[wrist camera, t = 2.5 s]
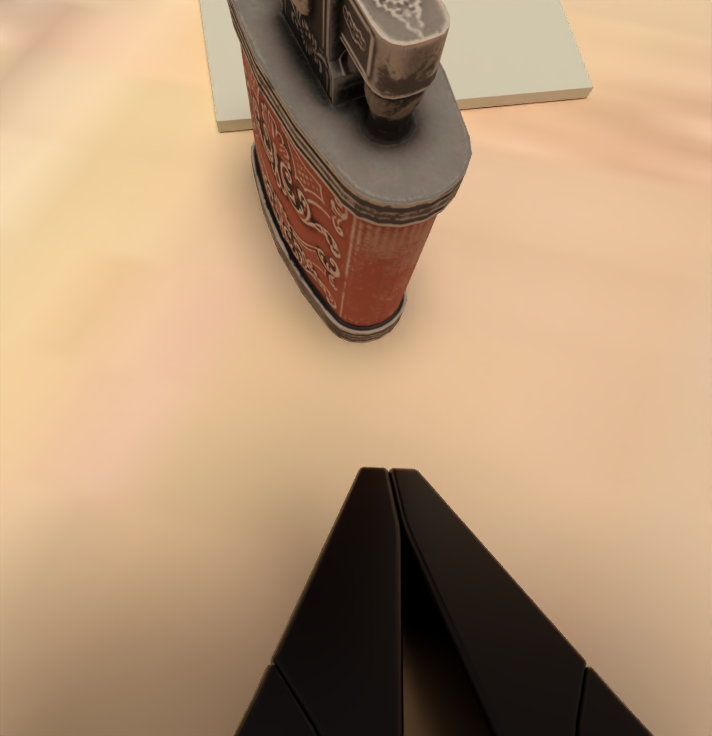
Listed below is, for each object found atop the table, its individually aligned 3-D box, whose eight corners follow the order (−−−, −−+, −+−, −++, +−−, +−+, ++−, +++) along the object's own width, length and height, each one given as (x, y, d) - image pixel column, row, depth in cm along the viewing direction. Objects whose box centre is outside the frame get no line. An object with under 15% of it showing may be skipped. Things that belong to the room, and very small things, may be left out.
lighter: (424, 319, 16) (583, 47, 7) (330, 359, 16) (359, 121, 6) (322, 126, 18) (333, -305, 9) (232, 156, 18) (138, -274, 8)
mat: (219, 132, 18) (216, 121, 17) (194, -47, 20) (191, -61, 19) (586, 97, 20) (593, 87, 19) (526, -63, 22) (531, -76, 21)
